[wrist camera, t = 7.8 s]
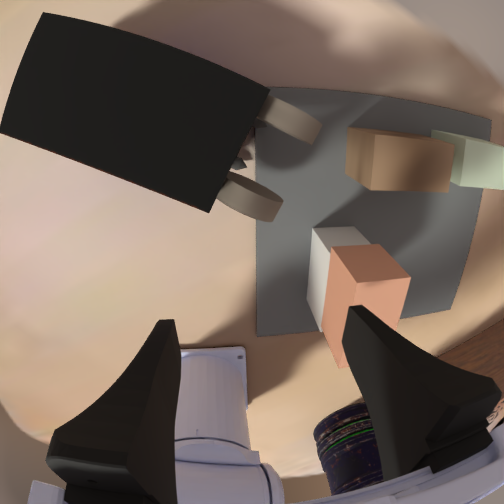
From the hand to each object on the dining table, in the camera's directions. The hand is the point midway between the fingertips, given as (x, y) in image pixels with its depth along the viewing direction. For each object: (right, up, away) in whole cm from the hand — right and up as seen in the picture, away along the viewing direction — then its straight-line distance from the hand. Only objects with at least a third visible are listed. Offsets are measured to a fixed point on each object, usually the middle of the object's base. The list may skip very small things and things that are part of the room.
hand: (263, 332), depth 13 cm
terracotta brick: (+6, +1, +7) cm, 9 cm away
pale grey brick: (+5, +2, +11) cm, 12 cm away
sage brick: (+16, +11, +8) cm, 21 cm away
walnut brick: (+9, +10, +7) cm, 15 cm away
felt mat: (+10, +5, +10) cm, 15 cm away
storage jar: (+12, -19, +23) cm, 32 cm away
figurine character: (-5, +12, +5) cm, 14 cm away
